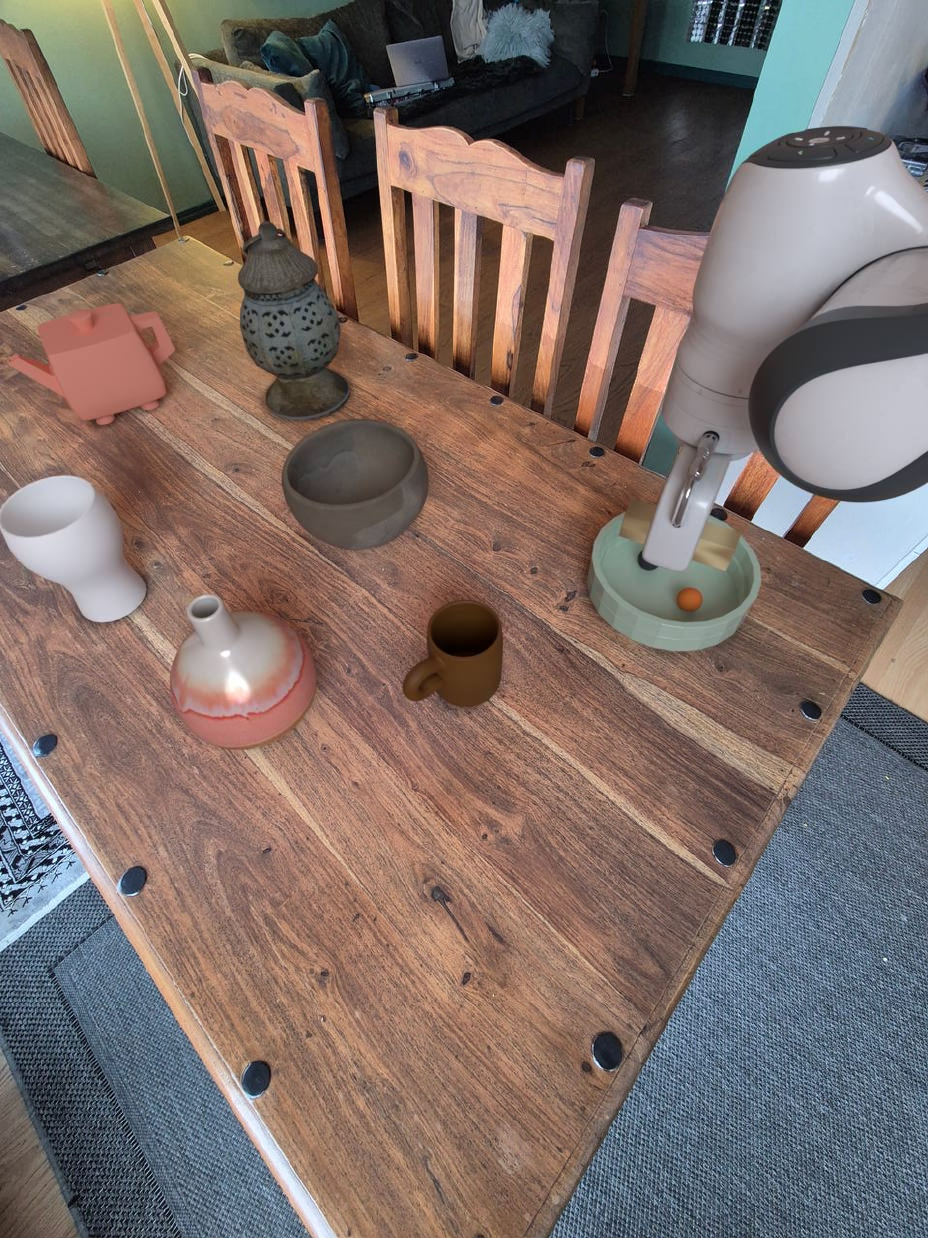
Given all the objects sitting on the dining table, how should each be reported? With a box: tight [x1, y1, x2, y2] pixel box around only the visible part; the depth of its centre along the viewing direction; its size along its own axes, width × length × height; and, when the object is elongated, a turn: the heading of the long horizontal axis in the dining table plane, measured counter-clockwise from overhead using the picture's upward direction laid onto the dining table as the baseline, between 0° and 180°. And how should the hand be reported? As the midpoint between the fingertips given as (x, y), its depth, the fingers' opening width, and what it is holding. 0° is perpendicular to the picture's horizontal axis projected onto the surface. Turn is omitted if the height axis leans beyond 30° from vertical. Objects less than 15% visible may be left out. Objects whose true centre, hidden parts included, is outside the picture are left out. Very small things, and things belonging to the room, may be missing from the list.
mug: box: [401, 599, 504, 708], centre depth 65 cm, size 12×8×9 cm, turn 136°
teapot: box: [5, 302, 176, 426], centre depth 96 cm, size 22×13×14 cm, turn 121°
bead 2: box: [677, 587, 703, 612], centre depth 73 cm, size 3×3×3 cm
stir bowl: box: [586, 504, 762, 652], centre depth 74 cm, size 19×19×5 cm
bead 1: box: [638, 550, 658, 571], centre depth 77 cm, size 3×3×3 cm
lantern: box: [237, 220, 351, 422], centre depth 92 cm, size 14×14×25 cm
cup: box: [0, 474, 147, 623], centre depth 71 cm, size 11×11×15 cm
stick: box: [619, 498, 742, 571], centre depth 58 cm, size 10×2×3 cm, turn 63°
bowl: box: [281, 418, 429, 551], centre depth 81 cm, size 17×18×10 cm
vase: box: [169, 593, 318, 751], centre depth 61 cm, size 14×14×18 cm
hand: (680, 531), depth 58 cm, fingers closed on stick, 2 cm apart
